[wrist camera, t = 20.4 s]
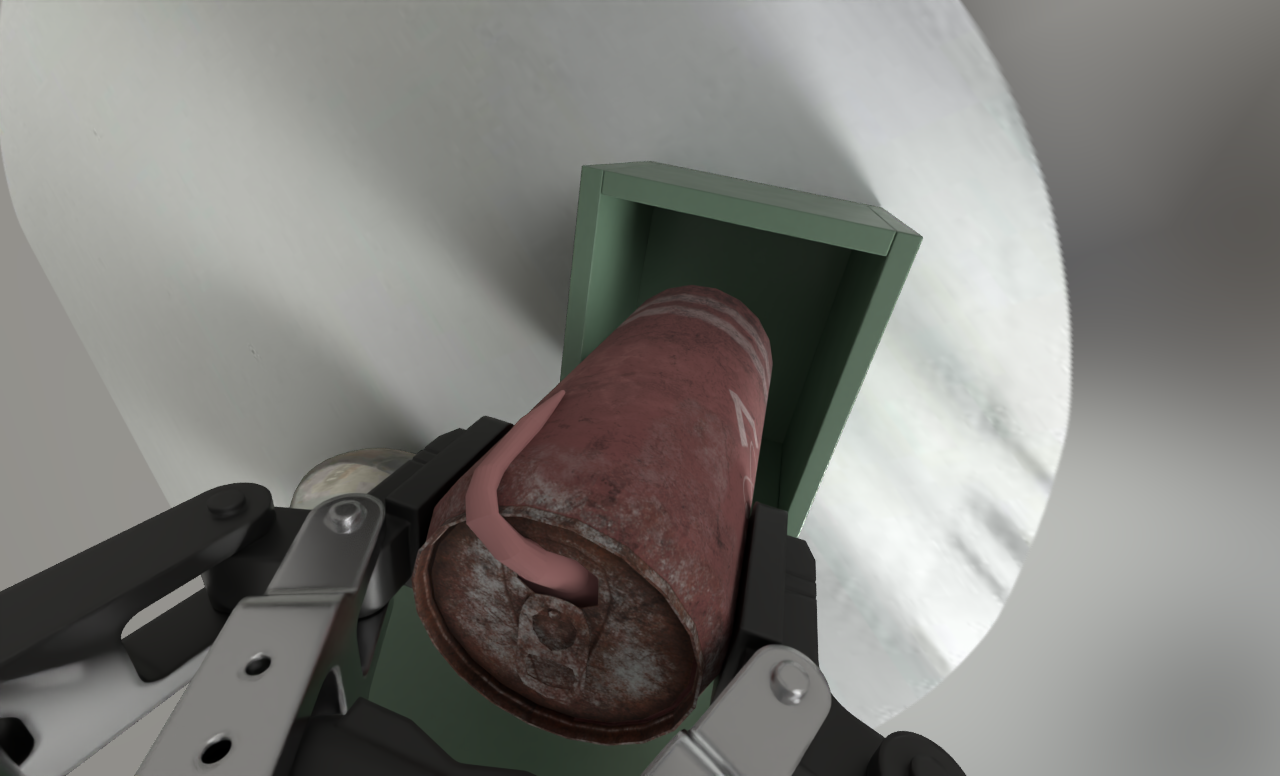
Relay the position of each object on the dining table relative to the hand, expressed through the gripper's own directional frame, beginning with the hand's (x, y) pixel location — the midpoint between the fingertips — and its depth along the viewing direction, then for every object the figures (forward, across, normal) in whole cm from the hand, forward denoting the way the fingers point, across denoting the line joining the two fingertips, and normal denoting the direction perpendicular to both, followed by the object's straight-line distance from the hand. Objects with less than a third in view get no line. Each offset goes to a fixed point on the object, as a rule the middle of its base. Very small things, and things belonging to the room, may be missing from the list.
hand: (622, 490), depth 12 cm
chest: (+23, 0, +3) cm, 24 cm away
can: (+10, 0, 0) cm, 10 cm away
